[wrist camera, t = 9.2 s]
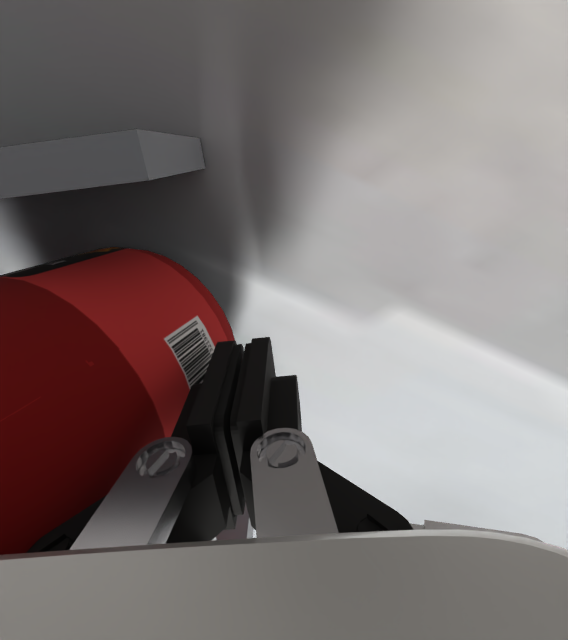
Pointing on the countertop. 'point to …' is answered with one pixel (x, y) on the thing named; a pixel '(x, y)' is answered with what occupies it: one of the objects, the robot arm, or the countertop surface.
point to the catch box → (103, 181)
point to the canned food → (92, 377)
